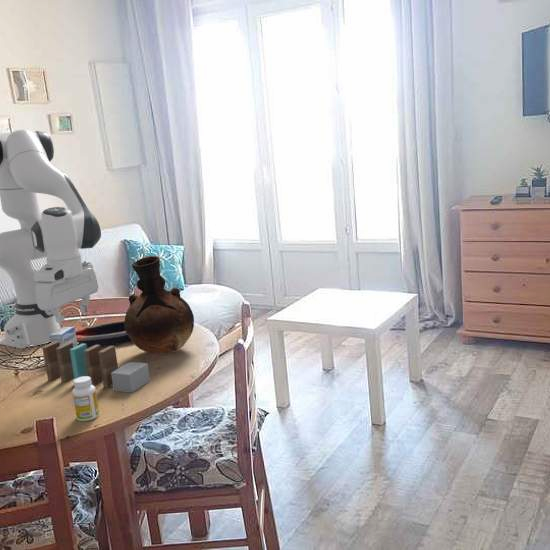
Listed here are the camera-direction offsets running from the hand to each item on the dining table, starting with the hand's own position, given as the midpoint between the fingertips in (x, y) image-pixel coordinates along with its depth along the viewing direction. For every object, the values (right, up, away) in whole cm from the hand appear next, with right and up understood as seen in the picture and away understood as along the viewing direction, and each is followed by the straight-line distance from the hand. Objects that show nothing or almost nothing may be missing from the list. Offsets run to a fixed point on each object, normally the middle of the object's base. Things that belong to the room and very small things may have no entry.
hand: (72, 317), depth 174 cm
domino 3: (+2, -18, +4) cm, 19 cm away
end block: (+17, -18, -3) cm, 25 cm away
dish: (0, -11, +39) cm, 40 cm away
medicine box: (-10, -14, +26) cm, 31 cm away
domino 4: (+6, -18, +2) cm, 19 cm away
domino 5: (+11, -18, 0) cm, 21 cm away
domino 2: (-3, -18, +6) cm, 19 cm away
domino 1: (-7, -18, +8) cm, 21 cm away
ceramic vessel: (+21, -13, +22) cm, 33 cm away
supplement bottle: (+10, -23, -20) cm, 32 cm away
